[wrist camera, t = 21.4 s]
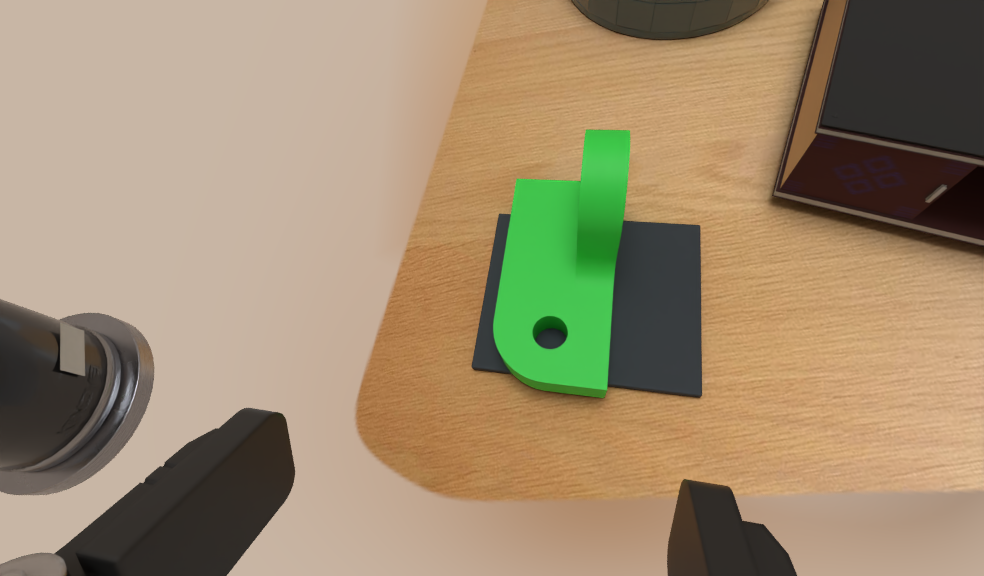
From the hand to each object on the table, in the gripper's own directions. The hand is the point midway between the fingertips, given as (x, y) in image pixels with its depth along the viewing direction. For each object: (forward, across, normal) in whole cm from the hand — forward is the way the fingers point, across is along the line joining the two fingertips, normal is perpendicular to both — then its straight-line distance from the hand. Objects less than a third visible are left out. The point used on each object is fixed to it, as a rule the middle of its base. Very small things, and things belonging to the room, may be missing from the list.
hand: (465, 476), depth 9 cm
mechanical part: (+19, 0, +3) cm, 19 cm away
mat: (+19, -2, +4) cm, 19 cm away
